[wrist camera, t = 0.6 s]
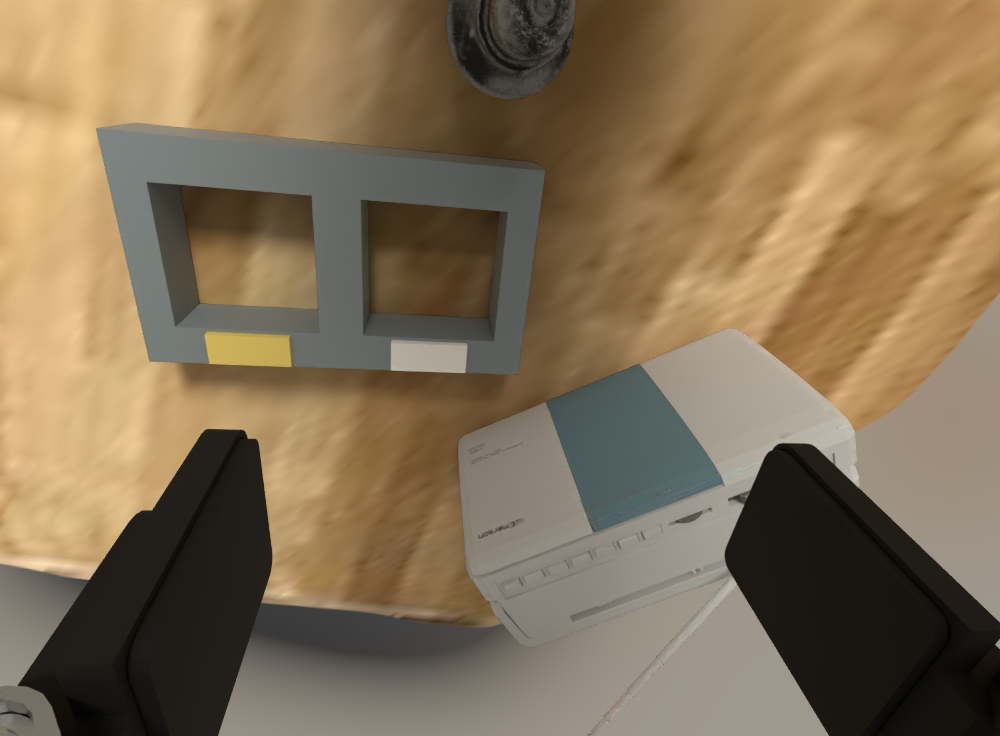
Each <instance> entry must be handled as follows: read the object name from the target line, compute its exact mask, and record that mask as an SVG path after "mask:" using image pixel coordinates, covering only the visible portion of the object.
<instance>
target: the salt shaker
mask: <svg viewBox="0 0 1000 736" xmlns="http://www.w3.org/2000/svg"><path fill="white" fill-rule="evenodd" d="M575 10H576V0H449V1H448V9H447V17H446V28H447V39H448V44H449V47H450V50H451V53H452V56H453V59H454V61H455V63H456V64H457V66H458V68H459V69H460V71H461V73H462V74H463V76H464V77H465V78H466V79H467V80H468V81H469V82H470V83H471V84H472V85H473V86H474V87H475V88H477V89H479V90H480V91H482V92H484V93H486V94H488V95H489V96H492V97H497V98H501V99H506V100H507V99H521V98H524V97H527V96H530V95H532V94H535V93H537V92H538V91H540V90H541V89H543V88H544V87H545V86H547V85H548V84H549V83H551V81H552V80H553V79H554V78H555V76H556V75H557V74H558V73H559V71H560V70H561V69H562V67H563V65H564V63H565V60H566V58H567V56H568V54H569V52H570V47H571V43H572V39H573V34H574V17H575Z"/></svg>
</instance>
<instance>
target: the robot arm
mask: <svg viewBox="0 0 1000 736" xmlns="http://www.w3.org/2000/svg"><path fill="white" fill-rule="evenodd" d="M724 556H725V563H726V566H727V568H728V570H729V572H730V573H731V575H732V577H733V578H734V580H735V581H736V583H737V585H738V586H739V588H740V590H741V591H742V593H743V595H744V596H745V598H746V599H747V601H748V603H749V605H750V606H751V608H752V609H753V611H754V613H755V614H756V616H757V618H758V619H759V621H760V623H761V624H762V626H763V628H764V629H765V631H766V632H767V634H768V636H769V638H770V639H771V641H772V642H773V644H774V646H775V647H776V649H777V651H778V652H779V654H780V656H781V657H782V659H783V661H784V662H785V664H786V666H787V667H788V669H789V670H790V672H791V674H792V675H793V677H794V678H795V680H796V682H797V684H798V685H799V687H800V689H801V690H802V692H803V694H804V695H805V697H806V698H807V700H808V702H809V703H810V705H811V707H812V708H813V710H814V712H815V713H816V715H817V717H818V718H819V720H820V721H821V723H822V725H823V726H824V728H825V730H826V731H827V733H828V735H829V736H1000V649H999V648H998V647H997V646H996V645H995V644H996V643H997V641H998V640H999V639H1000V622H999V621H998V620H997V619H995V618H994V617H993V616H992V615H991V614H990V613H989V612H988V611H987V610H986V609H985V608H984V607H983V606H982V605H981V604H980V603H979V602H978V601H977V600H976V599H974V598H973V597H972V596H971V595H970V594H969V593H968V592H967V591H966V590H965V589H964V588H963V587H962V586H961V585H960V584H959V583H958V582H957V581H956V580H955V579H954V578H953V577H952V576H950V575H949V574H948V573H947V572H946V571H945V570H944V569H943V568H942V567H941V566H940V565H939V564H938V563H937V562H936V561H935V560H934V559H933V558H932V557H930V556H929V555H928V554H927V553H926V552H925V551H924V550H923V549H922V548H921V547H920V546H919V545H918V544H917V543H916V542H915V541H914V540H913V539H912V538H911V537H910V536H909V535H908V534H906V533H905V532H904V531H903V530H902V529H901V528H900V527H899V526H898V525H897V524H896V523H895V522H894V521H893V520H892V519H891V518H890V517H889V516H888V515H887V514H886V513H885V512H883V511H882V510H881V509H880V508H879V507H878V506H877V505H876V504H875V503H874V502H873V501H872V500H871V499H870V498H869V497H868V496H867V495H866V494H865V493H864V492H863V491H861V490H860V489H859V488H858V487H857V486H856V485H855V484H854V483H853V482H852V481H851V480H850V479H849V478H848V477H847V476H846V475H845V474H844V473H843V472H842V471H841V470H839V469H838V468H837V467H836V466H835V465H834V464H833V463H832V462H831V461H830V460H829V459H828V458H827V457H826V456H825V455H824V454H823V453H822V452H821V451H820V450H819V449H817V448H816V447H815V446H813V445H811V444H806V443H780V444H777V445H776V446H775V447H774V448H773V450H772V451H769V452H768V453H767V454H766V456H765V457H764V460H763V462H762V464H761V467H760V469H759V471H758V474H757V476H756V478H755V481H754V483H753V485H752V488H751V490H750V492H749V495H748V497H747V499H746V502H745V504H744V506H743V509H742V511H741V513H740V516H739V518H738V520H737V523H736V525H735V527H734V530H733V532H732V534H731V537H730V539H729V541H728V544H727V546H726V549H725V555H724ZM271 567H272V547H271V539H270V531H269V523H268V515H267V507H266V499H265V491H264V483H263V475H262V467H261V459H260V451H259V444H258V441H257V440H256V439H248V438H247V435H246V433H245V431H243V430H224V429H207V430H205V431H204V432H203V433H202V434H201V436H200V437H199V439H198V440H197V442H196V443H195V445H194V446H193V448H192V450H191V451H190V453H189V454H188V456H187V457H186V459H185V460H184V462H183V464H182V465H181V467H180V468H179V470H178V471H177V473H176V474H175V476H174V477H173V479H172V481H171V482H170V484H169V485H168V487H167V488H166V490H165V491H164V493H163V495H162V496H161V498H160V499H159V501H158V502H157V504H156V505H155V507H154V508H153V510H152V511H141V512H139V513H137V514H136V515H135V516H134V517H133V518H132V519H131V520H130V522H129V523H128V524H127V526H126V527H125V529H124V530H123V532H122V533H121V535H120V536H119V537H118V539H117V540H116V542H115V543H114V545H113V546H112V548H111V549H110V551H109V552H108V554H107V555H106V557H105V558H104V559H103V561H102V562H101V564H100V565H99V567H98V568H97V570H96V571H95V573H94V574H93V576H92V577H91V579H90V580H89V582H88V583H87V584H86V586H85V588H84V589H83V590H82V592H81V593H80V595H79V596H78V598H77V599H76V601H75V602H74V604H73V605H72V606H71V608H70V609H69V611H68V612H67V614H66V615H65V617H64V618H63V620H62V622H61V623H60V624H59V626H58V627H57V629H56V630H55V631H54V633H53V634H52V636H51V637H50V639H49V640H48V642H47V643H46V645H45V646H44V648H43V649H42V651H41V652H40V653H39V655H38V657H37V658H36V659H35V661H34V662H33V664H32V665H31V667H30V668H29V670H28V671H27V673H26V674H25V676H24V677H23V678H22V680H21V681H20V683H19V684H18V686H1V687H0V736H218V734H219V730H220V728H221V725H222V721H223V718H224V715H225V712H226V709H227V706H228V703H229V700H230V697H231V693H232V691H233V687H234V684H235V681H236V678H237V675H238V672H239V669H240V666H241V663H242V660H243V657H244V654H245V650H246V647H247V644H248V641H249V638H250V635H251V632H252V629H253V626H254V622H255V620H256V616H257V613H258V610H259V607H260V604H261V601H262V598H263V595H264V592H265V589H266V586H267V583H268V579H269V576H270V573H271Z"/></svg>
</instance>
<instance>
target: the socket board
mask: <svg viewBox="0 0 1000 736" xmlns="http://www.w3.org/2000/svg"><path fill="white" fill-rule="evenodd" d="M96 131H97V135H98V139H99V144H100V148H101V152H102V157H103V161H104V165H105V170H106V174H107V179H108V183H109V187H110V192H111V196H112V200H113V205H114V209H115V213H116V218H117V222H118V226H119V231H120V235H121V239H122V244H123V248H124V252H125V257H126V261H127V266H128V270H129V274H130V279H131V283H132V287H133V292H134V296H135V300H136V305H137V309H138V313H139V318H140V322H141V326H142V331H143V335H144V339H145V344H146V348H147V353H148V357H149V361H150V362H176V363H204V364H224V365H251V366H279V367H315V368H343V369H371V370H391V371H419V372H446V373H482V374H510V375H518V369H519V362H520V354H521V347H522V340H523V332H524V325H525V318H526V310H527V303H528V296H529V288H530V281H531V274H532V266H533V259H534V252H535V244H536V237H537V230H538V222H539V215H540V208H541V200H542V193H543V186H544V178H545V170H543V169H542V168H541V167H540V166H538V165H537V164H536V163H534V162H528V161H518V160H508V159H498V158H487V157H477V156H467V155H457V154H446V153H436V152H426V151H416V150H405V149H395V148H385V147H375V146H365V145H354V144H344V143H334V142H324V141H313V140H303V139H293V138H283V137H272V136H262V135H252V134H242V133H231V132H221V131H211V130H201V129H190V128H180V127H170V126H160V125H150V124H139V123H130V124H123V125H116V126H109V127H101V128H96ZM179 185H189V186H201V187H213V188H225V189H237V190H249V191H261V192H274V193H286V194H298V195H310V196H312V212H313V229H314V246H315V262H316V279H317V296H318V310H314V309H295V308H276V307H257V306H237V305H218V304H200V303H199V297H198V291H197V285H196V279H195V274H194V268H193V262H192V256H191V250H190V244H189V238H188V232H187V227H186V221H185V215H184V209H183V203H182V197H181V191H180V186H179ZM368 200H370V201H382V202H395V203H407V204H419V205H431V206H443V207H455V208H467V209H479V210H491V211H499V220H498V229H497V239H496V249H495V259H494V269H493V279H492V289H491V299H490V308H489V318H469V317H450V316H430V315H411V314H392V313H372V312H369V242H368Z"/></svg>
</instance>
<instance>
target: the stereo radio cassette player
mask: <svg viewBox="0 0 1000 736" xmlns="http://www.w3.org/2000/svg"><path fill="white" fill-rule="evenodd" d="M780 443H806V444H811V445H813V446H815V447H816V448H817V449H819V450H820V451H821V452H822V453H823V454H824V455H825V456H826V457H827V458H828V459H829V460H830V461H831V462H832V463H833V464H834V465H835V466H836V467H837V468H838V469H839V470H841V471H842V472H843V473H844V474H845V475H846V476H847V477H848V478H849V479H850V480H851V481H852V482H853V483H854V484H855V485H856V486H857V487H858V488H859V476H858V473H857V471H856V468H855V466H854V465H853V464H854V463H855V462H856V461H857V459H856V443H855V432H854V430H853V428H852V425H851V424H850V422H849V421H848V419H847V418H846V417H845V416H844V415H843V414H842V413H841V412H840V411H839V410H838V409H836V408H835V407H834V406H833V405H832V404H831V403H830V402H829V401H828V400H826V399H825V398H824V397H823V396H822V395H821V394H819V393H818V392H817V391H816V390H815V389H814V388H812V387H811V386H810V385H809V384H808V383H806V382H805V381H804V380H803V379H802V378H800V377H799V376H798V375H797V374H795V373H794V372H793V371H792V370H791V369H789V368H788V367H787V366H786V365H784V364H783V363H782V362H781V361H779V360H778V359H777V358H776V357H774V356H773V355H772V354H771V353H769V352H768V351H767V350H766V349H764V348H763V347H762V346H760V345H759V344H757V343H756V342H754V341H753V340H752V339H750V338H749V337H747V336H746V335H744V334H743V333H741V332H740V331H738V330H737V329H734V328H727V329H723V330H721V331H718V332H716V333H713V334H711V335H709V336H706V337H704V338H701V339H699V340H696V341H694V342H691V343H689V344H687V345H684V346H682V347H679V348H677V349H674V350H672V351H669V352H667V353H665V354H662V355H660V356H657V357H655V358H652V359H650V360H648V361H645V362H643V363H640V364H637V365H635V366H632V367H630V368H627V369H625V370H623V371H620V372H618V373H615V374H613V375H610V376H608V377H605V378H603V379H600V380H598V381H596V382H593V383H591V384H588V385H586V386H583V387H581V388H578V389H576V390H573V391H571V392H569V393H566V394H564V395H561V396H559V397H556V398H554V399H551V400H549V401H547V402H544V403H542V404H539V405H537V406H534V407H532V408H529V409H527V410H524V411H522V412H520V413H517V414H515V415H512V416H510V417H507V418H505V419H502V420H500V421H497V422H495V423H493V424H490V425H488V426H485V427H483V428H480V429H478V430H476V431H473V432H471V433H469V434H466V435H464V436H463V437H462V438H460V440H459V446H458V459H459V478H460V493H461V506H462V520H463V535H464V550H465V561H466V571H467V573H468V574H469V576H470V577H471V579H472V580H473V582H474V583H475V585H476V586H477V588H478V589H479V591H480V592H481V594H482V595H483V597H484V598H485V600H486V601H489V602H490V606H491V608H492V610H493V612H494V614H495V616H496V617H497V618H498V619H499V620H500V621H501V622H502V624H503V625H504V626H505V627H506V628H507V629H508V631H509V632H510V633H511V634H512V635H513V636H514V637H515V639H516V640H517V641H518V642H519V643H520V644H521V645H524V646H528V647H532V648H534V647H537V646H540V645H543V644H545V643H548V642H551V641H553V640H556V639H559V638H562V637H564V636H567V635H570V634H573V633H575V632H578V631H581V630H584V629H586V628H589V627H592V626H595V625H597V624H600V623H603V622H605V621H608V620H611V619H614V618H616V617H619V616H622V615H625V614H627V613H630V612H633V611H636V610H638V609H641V608H644V607H647V606H649V605H652V604H654V603H657V602H660V601H663V600H666V599H668V598H671V597H674V596H677V595H679V594H682V593H685V592H688V591H690V590H693V589H696V588H698V587H701V586H704V585H707V584H710V583H712V582H715V581H718V580H720V579H723V578H726V577H729V576H731V577H730V578H729V579H728V580H727V581H726V582H725V583H724V584H723V586H722V587H721V588H720V589H719V590H718V591H717V592H716V593H715V594H714V595H713V596H712V597H711V599H710V600H709V601H708V602H707V603H706V604H705V605H704V606H703V607H702V608H701V609H700V611H698V612H697V614H696V615H695V616H694V617H693V618H692V619H691V620H690V621H689V622H688V623H687V624H686V625H685V626H684V628H683V629H682V630H681V631H680V632H679V633H678V634H677V635H676V636H675V637H674V638H673V639H672V640H671V641H670V643H669V644H668V645H667V646H666V647H665V648H664V649H663V650H662V651H661V653H659V654H658V655H657V657H656V659H655V660H654V661H653V662H652V663H651V664H650V665H649V666H648V667H647V669H646V670H645V671H644V672H643V673H642V674H641V675H640V676H639V677H638V678H637V679H636V680H635V681H634V683H633V684H632V685H631V686H630V687H629V688H628V689H627V691H626V693H625V694H624V695H623V696H622V697H621V698H620V699H619V700H618V701H617V702H616V703H615V705H613V707H612V708H611V709H610V710H609V711H608V712H607V713H606V714H605V715H604V718H603V719H602V720H601V721H600V722H599V723H598V724H597V725H596V726H595V727H594V728H593V729H592V731H591V732H590V733H589V734H588V735H587V736H595V735H596V734H597V733H598V732H599V730H600V729H601V728H602V727H603V726H604V725H605V724H606V723H607V722H609V721H610V720H611V719H612V718H613V716H614V715H615V714H616V713H617V712H618V711H619V710H620V709H621V708H622V707H623V706H624V704H626V702H627V701H628V700H629V699H630V698H631V697H633V696H634V695H635V694H636V693H637V692H638V691H639V690H640V689H641V688H642V687H643V686H644V684H645V683H646V682H647V681H648V680H649V679H650V678H651V677H652V676H653V675H654V674H655V672H656V671H657V670H658V669H659V668H660V667H661V666H662V665H664V664H665V663H666V662H667V660H668V659H669V658H670V657H671V656H672V655H673V654H674V653H675V652H676V651H677V650H678V649H679V647H680V646H681V645H682V644H683V643H684V642H685V641H686V640H687V639H688V638H689V637H690V635H691V634H692V633H693V632H694V631H695V630H696V629H697V628H698V626H700V625H701V623H702V622H703V621H704V620H705V619H706V618H707V617H708V616H709V615H710V614H711V613H712V612H713V610H714V609H715V608H716V607H717V606H718V605H719V604H720V603H721V602H722V601H723V600H724V598H725V597H726V596H727V595H728V594H729V593H730V592H731V591H732V590H733V589H734V588H735V586H736V585H737V583H736V581H735V580H734V578H733V577H732V575H731V573H730V572H729V570H728V568H727V566H726V563H725V556H724V555H725V549H726V546H727V544H728V541H729V539H730V537H731V534H732V532H733V530H734V527H735V525H736V523H737V520H738V518H739V516H740V513H741V511H742V509H743V506H744V504H745V502H746V499H747V497H748V495H749V492H750V490H751V488H752V485H753V483H754V481H755V478H756V476H757V474H758V471H759V469H760V467H761V464H762V462H763V460H764V457H765V456H766V454H767V453H768V452H769V451H772V450H773V448H774V447H775V446H776V445H777V444H780Z"/></svg>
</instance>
